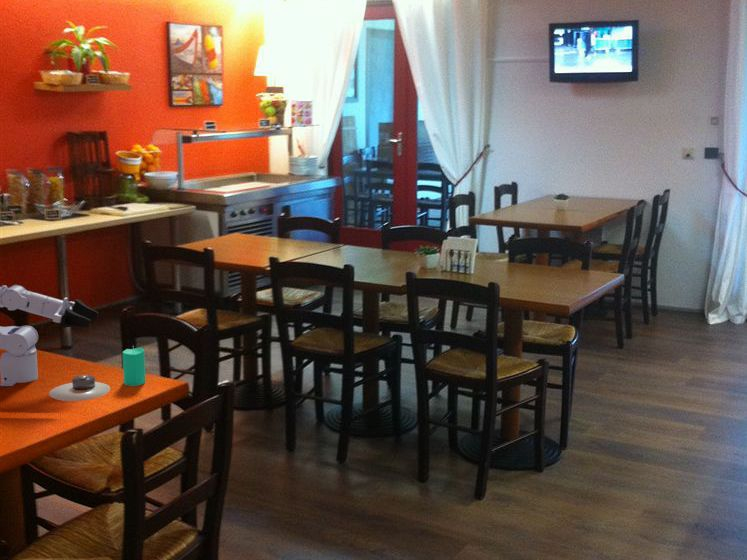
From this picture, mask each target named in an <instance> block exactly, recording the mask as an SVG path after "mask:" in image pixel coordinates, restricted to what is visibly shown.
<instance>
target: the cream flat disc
mask: <svg viewBox="0 0 747 560" xmlns="http://www.w3.org/2000/svg"><path fill="white" fill-rule="evenodd" d="M110 391H111V387H110V386H109V385H108V384H106V383H103V382H99V381H95V387H94V388H92V389H88V390H75V389H73V384H72V382H69V383H64V384H61V385H58V386H56V387H54V388H52V389H51V390H50V391H49V393H48V395H49V397H50V398H52V399H55V400H59V401H63V402H80V401H82V402H83V401H88V400H93V399H97V398H100V397H103V396H105V395H107V394H108V393H109V392H110Z"/></svg>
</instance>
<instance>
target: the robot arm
mask: <svg viewBox="0 0 747 560" xmlns="http://www.w3.org/2000/svg"><path fill="white" fill-rule="evenodd" d="M68 299H69V298H68V297H64V298H63V299H60V298H59V299H58V298H55V297H52V296H49V295H44V294H42V293H38V292H33V291H31V290H27V289H26V288H25V287H24V286H22V285H18V284H14V285H12V286H9V287H8V286H7V285H6V284H5V285H3V284H2V285H1V286H0V308H7V310H8V311H16V310H17V309H18V310H21V311H23V312H27V313H30V314H32V315H33V314H34V315H38V316H41V317H44V318H48V319H51V320H52V322H54V323H58V324H60V328H61V329H65V328H73V327H74V328H75V327H76V328H90V325H91V321H92V320H94V321H97V320H98V317H99V314H100V313H99V311H96V310H94V309H93V308H91V307H89V306H87V305H86V304H85V303H84V302H83V301H82V300H81V299H80V298H79V299H78V298H77V299H75V300H74V301H69V300H68ZM38 341H39V334H38V331H37V329H35V328H34V327H33V326H30V325H22V326H16V325H11V326H0V350H4V351H5V352H2V354H1V356H0V382H1V383H0V387H13V386H14V385H16V383H18V384H19V383H20V384H22V383H23V384H24V383H30V382H33V381H36V380H38V378H39V374H38V373H39V371H38V357H37V356H38V354H37V348H36V344H37V342H38Z"/></svg>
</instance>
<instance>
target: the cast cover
mask: <svg viewBox="0 0 747 560" xmlns="http://www.w3.org/2000/svg"><path fill="white" fill-rule="evenodd" d="M95 382H96V377H95V376H93V375H90V374H82V375H77V376H74V377H73V378H72V382H71V383H72V384H73V389H75V390H88V389H92V388H94V387H95Z"/></svg>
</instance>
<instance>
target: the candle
mask: <svg viewBox="0 0 747 560" xmlns="http://www.w3.org/2000/svg"><path fill="white" fill-rule="evenodd" d="M134 347H135V346H132V348H131V349H130V348H126V349H125V350H123V351H122V367H123V368H122V370H123V384H124V385H126V386H132V387H134V386H135V387H136V386H141V385H143V384H145V383H146V363H145V349H143V348H142V347H136V348H134Z"/></svg>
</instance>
